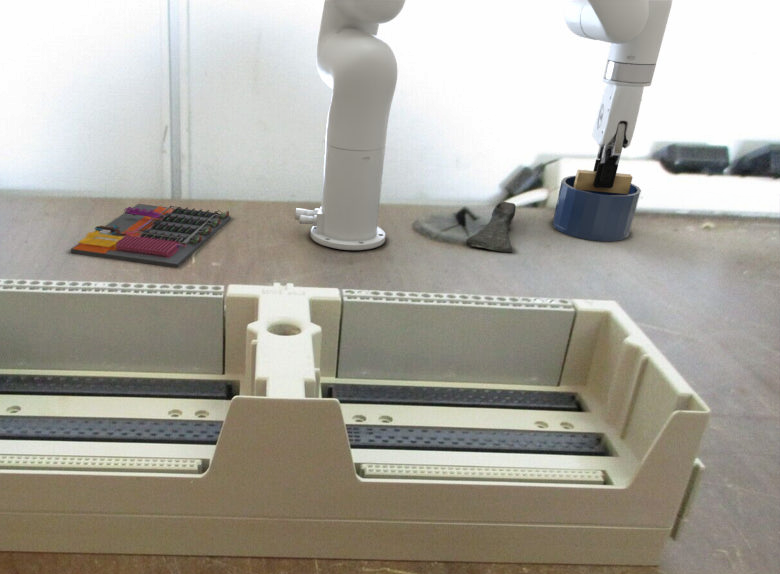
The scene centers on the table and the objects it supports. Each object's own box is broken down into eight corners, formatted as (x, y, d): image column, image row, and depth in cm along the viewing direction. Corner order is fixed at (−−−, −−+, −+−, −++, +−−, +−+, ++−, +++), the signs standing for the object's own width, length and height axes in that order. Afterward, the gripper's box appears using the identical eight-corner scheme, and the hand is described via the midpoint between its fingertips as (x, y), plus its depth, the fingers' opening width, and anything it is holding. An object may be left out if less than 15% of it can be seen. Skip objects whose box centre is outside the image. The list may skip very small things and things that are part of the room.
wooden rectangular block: (574, 189, 135) (578, 172, 134) (573, 186, 137) (577, 169, 135) (628, 194, 134) (632, 177, 132) (626, 191, 136) (630, 174, 134)
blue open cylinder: (556, 236, 134) (566, 191, 130) (549, 214, 146) (558, 172, 142) (635, 244, 132) (647, 199, 128) (621, 221, 144) (633, 179, 140)
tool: (509, 261, 126) (514, 244, 125) (463, 250, 128) (467, 233, 126) (523, 214, 142) (527, 198, 140) (482, 205, 144) (486, 189, 142)
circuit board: (177, 267, 115) (177, 250, 113) (71, 252, 118) (69, 235, 117) (230, 218, 136) (230, 203, 134) (138, 206, 139) (137, 191, 138)
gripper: (597, 65, 133) (573, 171, 142) (612, 79, 119) (585, 195, 129) (643, 68, 132) (616, 175, 141) (663, 82, 118) (632, 199, 128)
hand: (601, 184), depth 135 cm, fingers closed on wooden rectangular block, 2 cm apart
